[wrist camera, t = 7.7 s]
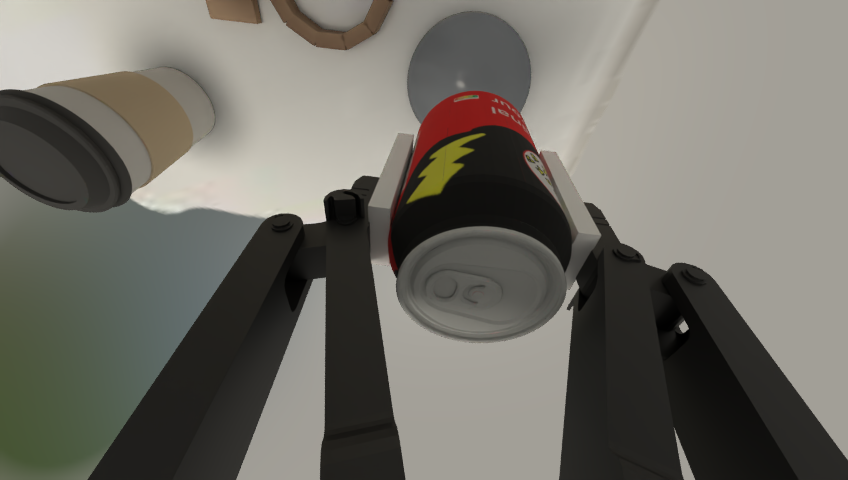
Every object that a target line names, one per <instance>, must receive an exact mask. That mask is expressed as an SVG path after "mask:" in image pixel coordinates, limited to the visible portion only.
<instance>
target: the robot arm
mask: <svg viewBox="0 0 848 480" xmlns="http://www.w3.org/2000/svg"><path fill="white" fill-rule="evenodd" d="M413 137H414V135H410V134H402V133H398V136H397V138H396V140H395V143H394V145H393V147H392V150H391V152H390V155H389V157H388V159H387V162H386V164H385V166H384V169H383V171H382V174H381V176H380V178H379V177H371V176H362V177H360V178H359V179H357V180H356V181H355V182H354V184H353V186H352V189H351V190H347V189H342V190H336V191H333V192H330V193H329V194H328V195H326V196H325V198H324V207H325V214H326V222H322V223H316V224H304V225H303V221H302V220H301V218H300V217H298V216H297V215H294V214H278V215H274V216H271V217H269V218H267V219H266V220H265V221H264V222H263V223H262V224H261V225H260V227H259V228H258V230H257V231H256V233H255V234H254V236H253V237H252V239H251V240H250V242H249V243H248V245H247V246H246V248H245V249H244V250H243V252H242V253H241V255H240V256H239V258H238V259H237V261H236V262H235V264H234V265H233V267H232V268H231V270H230V271H229V272H228V274H227V276H226V277H225V279H224V280H223V281H222V283H221V284H220V286H219V287H218V289H217V290H216V292H215V293H214V295H213V296H212V297H211V299H210V300H209V302H208V303H207V305H206V307H205V308H204V309H203V311H202V312H201V314H200V315H199V317H198V318H197V320H196V321H195V322H194V324H193V325H192V327H191V328H190V330H189V331H188V333H187V334H186V336H185V337H184V339H183V340H182V342H181V343H180V345H179V346H178V348H177V349H176V350H175V352H174V353H173V355H172V356H171V358H170V360H169V361H168V363H167V364H166V365H165V367H164V368H163V370H162V371H161V372H160V374H159V375H158V377H157V378H156V380H155V381H154V383H153V384H152V386H151V387H150V389H149V390H148V392H147V393H146V395H145V396H144V397H143V399H142V400H141V402H140V403H139V405H138V406H137V408H136V410H135V411H134V412H133V414H132V415H131V417H130V418H129V419H128V421H127V422H126V424H125V425H124V427H123V429H122V430H121V431H120V433H119V434H118V436H117V437H116V439H115V440H114V442H113V443H112V445H111V446H110V447H109V449H108V450H107V452H106V453H105V455H104V456H103V458H102V459H101V461H100V462H99V464H98V465H97V467H96V468H95V470H94V471H93V473H92V474H91V475H90V477H89V478H88V480H236V478H237V476H238V473H239V471H240V468H241V465H242V463H243V460H244V458H245V455H246V452H247V450H248V447H249V445H250V442H251V440H252V437H253V434H254V432H255V429H256V426H257V424H258V421H259V418H260V416H261V413H262V411H263V408H264V406H265V403H266V400H267V398H268V395H269V393H270V390H271V388H272V385H273V382H274V380H275V377H276V374H277V372H278V369H279V367H280V364H281V362H282V359H283V356H284V354H285V351H286V349H287V346H288V343H289V341H290V338H291V336H292V333H293V330H294V328H295V325H296V322H297V320H298V317H299V315H300V312H301V310H302V307H303V304H304V302H305V299H306V297H307V294H308V291H309V289H310V286H311V283H312V281H313V279H316V278H325V277H326V334H325V337H326V338H325V432H324V438H323V441H322V447H321V462H320V480H405V473H404V467H403V460H402V453H401V447H400V440H399V435H398V430H397V426H396V424H395V420H394V415H393V409H392V402H391V395H390V389H389V382H388V375H387V368H386V361H385V354H384V347H383V340H382V333H381V326H380V320H379V312H378V306H377V299H376V291H375V286H374V285H375V284H374V278H373V271H372V264H376V265H384V266H389V264H390V260H389V254H388V236H389V231H390V228H391V224H392V221H393V218H394V214H395V211H396V207H397V204H398V200H399V197H400V194H401V190H402V187H403V183H404V180H405V176H406V173H407V170H408V166H409V163H410V159H411V156H412V152H413ZM539 156H540V159H541V161H542V163H543V166H544V168H545V170H546V172H547V175H548V177H549V179H550V182H551V184H552V186H553V188H554V191H555V193H556V195H557V197H558V200H559V202H560V204H561V207H562V209H563V211H564V213H565V216H566V218H567V220H568V223H569V226H570V229H571V235H572V253H571V259H570V262H569V265H568V267H567V270H566V272H565V276H566V282H567V289H568V290H570V288H571V287H572V285H573V283H574V282H575V280H577V283H578V285H579V289H578V291H577V292H576V294H575V295H574V297H573V299H572V300H571V302H570V304H569V305H568V307H567V310H570V309H571V307H572V306H574V307H573V319H572V320H573V321H572V331H571V343H570V356H569V368H568V380H567V392H566V404H565V416H564V428H563V440H562V452H561V465H560V476H559V480H684V479H683V476H682V471H681V466H680V460H679V454H678V448H677V442H676V437H675V431H674V428H675V430H676V433H677V435H678V438H679V440H680V443H681V445H682V448H683V450H684V453H685V455H686V458H687V460H688V463H689V465H690V468H691V470H692V473H693V475H694V478H695V480H848V460H847V459H846V457H845V456H844V455H843V453H842V452H841V451H840V449H839V448H838V447H837V445H836V444H835V443H834V441H833V440H832V439H831V437H830V436H829V434H828V433H827V432H826V430H825V429H824V428H823V426H822V425H821V424H820V422H819V421H818V420H817V418H816V417H815V415H814V414H813V413H812V411H811V410H810V409H809V407H808V406H807V405H806V403H805V402H804V400H803V399H802V398H801V396H800V395H799V394H798V392H797V391H796V390H795V388H794V387H793V386H792V384H791V383H790V382H789V381H788V379H787V378H786V376H785V375H784V373H783V372H782V371H781V369H780V368H779V367H778V365H777V364H776V363H775V361H774V360H773V359H772V357H771V356H770V354H769V353H768V352H767V350H766V349H765V348H764V346H763V345H762V344H761V342H760V341H759V340H758V338H757V337H756V336H755V334H754V333H753V331H752V330H751V329H750V328H749V326H748V325H747V323H746V322H745V321H744V319H743V318H742V317H741V315H740V314H739V313H738V311H737V310H736V308H735V307H734V306H733V304H732V303H731V302H730V300H729V299H728V298H727V296H726V295H725V294H724V292H723V291H722V289H721V288H720V287H719V285H718V284H717V283H716V281H715V280H714V279H713V278H712V277H711V276H710V275H709V274H707V273H706V272H704V271H703V270H702V269H700V268H697V267H696V266H693V265H689V264H686V263H675V264H673V265H672V266H671V267H670V268H669V269H668V270H667V271H665V270H662V269H659V268H656V267H652V266H649V265H647V264H645V260H644V258H643V256H642V255H641V254H640V253H639V252H638V251H637V250H635V249H633V248H632V247H630V246H627V245H625V244H621V243H620V241H619V240H618V238H617V237H616V235H615V233H614V231H613V230H612V228H611V226H609V223H608V222H607V220H605V219H606V218H605V217H604V215H603V213H602V212H601V210H600V209H598V208H597V207H596V206H595V205H594V204H592V203H585V202H583V201H582V199H581V197H580V195H579V193H578V192H577V190H576V188H575V186H574V184H573V182H572V181H571V179H570V177H569V175H568V173H567V171H566V169H565V168H564V166H563V164H562V162H561V160H560V158H559V157H558V155H557V153H556V152H549V151H541V152H540V154H539ZM684 320H685V322H686V323H687V325H688V328H689V329H688V330H687V331H686V332H685V333H682V332H681V330H680V328H679V325H680V324H681V323H682V322H683V321H684Z"/></svg>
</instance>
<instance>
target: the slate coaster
mask: <svg viewBox="0 0 848 480" xmlns="http://www.w3.org/2000/svg"><path fill="white" fill-rule="evenodd" d="M530 81H531V67H530V60H529V56H528V53H527V50H526V48H525V45H524V43H523V41H522V40H521V38H520V37H519V35H518V34H517V33H516V32H515V30H514V29H513V28H512V27H511V26H510V25H508V24H507V23H506V22H505V21H503V20H502V19H500V18H498V17H496V16H494V15H491V14H488V13H483V12H472V11H470V12H462V13H458V14H455V15H452V16H450V17H448V18H445V19H444V20H442V21H440V22H439V23H437V24H436V25H435V26H434V27H433V28H431V29H430V30H429V31H428V32H427V34H426V35H425V36H424V37H423V38H422V40H421V41H420V43H419V44H418V46H417V48H416V50H415V52H414V54H413V56H412V59H411V62H410V66H409V70H408V79H407V89H408V96H409V100H410V104H411V107H412V109H413V112H414V114H415V116H416V117H417V119H418V121H419V122H420V123H421V124H422V122H423V120H424V119H425V117H426V116H427V114H428V113H429V112H430V111H431V110H432V109H433V108H434V107H435V106H436V105H437V104H438V103H440V102H441V101H443V100H444V99H446V98H448V97H450V96H452V95H455V94H458V93H461V92H467V91H484V92H489V93H493V94H495V95H498V96H500V97H502V98H504V99H505V100H507V101H508V102H510V103H511V104H512V105H513V106H514V107H515V108H516V109H517V110H518V112H519V113H520V112H521V110H522V108H523V106H524V104H525V102H526V99H527V96H528V93H529V88H530Z"/></svg>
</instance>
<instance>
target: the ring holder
mask: <svg viewBox="0 0 848 480" xmlns="http://www.w3.org/2000/svg"><path fill="white" fill-rule="evenodd" d="M270 1H271V2H272V4H273V6H274V7H275V9H276V11H277V12H278V14H279V16H280V17H281V19H282V21H283V22H284V23H286V22H287V23H286V26H288V27H289V28H290V29H292V30H293V31H295V32H296V33H297V34H299V35H300V36H301V37H303V38H304V39H305V40H307V41H308V42H309V43H311V44H312V45H314V46H315V45H316V47H322V48H330V49H339V50H347V49H350V48H352V47H353V46H355V45H357V44H359V43H360V42H362V41H364V40H366V39H367V38H369V37H371V36H372V35H374V34H376V33H377V32H378V31H379V29H380V27H381V25H382V23H383V21H384V19H385V17H386V15H387V13H388V11H389V9H390V7H391V5H392V3H393V0H374V1H373V3H372V5H371V7H370V9H369V11H368V14H367V16H366V18H365V20H364V22H362V23H361V24H359V25H357V26H356V27H354V28H352V29H351V30H349V31H347V32H342V31H333V30H325V29H322V28H321V27H320V26H318V25H317V24H316V23H314V22H313V21H312V20H311V19H309V18H308V17H307V16H305V15H304V14H303V13H301V12H300V10H299V8H298V7H297V5H296V3H295V1H294V0H270ZM206 3H207V7H208V10H209V14H210V17H211V18H212V19H220V20H229V21H237V22H246V23H254V24H258V23H262V22H261V17H260V12H259V7H258V2H257V0H206Z"/></svg>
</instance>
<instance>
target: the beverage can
mask: <svg viewBox="0 0 848 480" xmlns="http://www.w3.org/2000/svg"><path fill="white" fill-rule="evenodd" d="M571 253H572V235H571V229H570V226H569V223H568V220H567V218H566V216H565V213H564V211H563V209H562V207H561V204H560V202H559V200H558V197H557V195H556V193H555V191H554V188H553V186H552V184H551V182H550V179H549V177H548V175H547V172H546V170H545V168H544V166H543V163H542V161H541V159H540V156H539V154H538V152H537V150H536V147H535V145H534V143H533V140H532V138H531V136H530V134H529V131H528V129H527V127H526V125H525V122H524V120H523V118H522V116H521V115H520V113H519V112H518V110H517V109H516V108H515V107H514V106H513V105H512V104H511V103H510V102H508V101H507V100H505V99H504V98H502V97H500V96H498V95H495V94H493V93H489V92H484V91H467V92H461V93H458V94H455V95H452V96H450V97H448V98H446V99H444V100H443V101H441V102H440V103H438V104H437V105H436V106H435V107H434V108H433V109H432V110H431V111H430V112H429V113H428V114H427V116H426V117H425V119H424V120H423V122H422V124H421V126H420V129H419V132H418V135H417V139H416V142H415V146H414V149H413V152H412V156H411V159H410V163H409V166H408V170H407V173H406V176H405V180H404V183H403V187H402V190H401V194H400V197H399V200H398V204H397V207H396V211H395V214H394V218H393V221H392V224H391V228H390V231H389V236H388V254H389V260H390V264H391V267H392V270H393V272H394V274H395V276H396V278H397V281H396V292H397V297H398V300H399V302H400V304H401V306H402V308H403V309H404V311H405V312H406V313H407V315H409V317H410V318H411V319H412V320H413V321H415V322H416V323H417V324H418V325H420V326H421V327H423V328H424V329H426V330H428V331H430V332H432V333H434V334H436V335H439V336H442V337H445V338H448V339H452V340H457V341H462V342H471V343H491V342H500V341H506V340H510V339H514V338H517V337H521V336H523V335H526V334H528V333H530V332H532V331H534V330H536V329H538V328H540V327H541V326H543V325H544V324H545V323H547V322H548V321H549V320H550V319H551V318H552V317H553V316H554V315H555V314H556V313H557V311H558V310H559V309H560V307H561V306H562V303H563V301H564V299H565V296H566V290H567V282H566V276H565V272H566V270H567V267H568V265H569V262H570V259H571Z"/></svg>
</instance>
